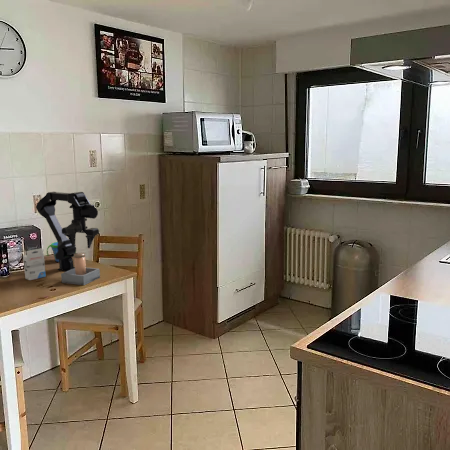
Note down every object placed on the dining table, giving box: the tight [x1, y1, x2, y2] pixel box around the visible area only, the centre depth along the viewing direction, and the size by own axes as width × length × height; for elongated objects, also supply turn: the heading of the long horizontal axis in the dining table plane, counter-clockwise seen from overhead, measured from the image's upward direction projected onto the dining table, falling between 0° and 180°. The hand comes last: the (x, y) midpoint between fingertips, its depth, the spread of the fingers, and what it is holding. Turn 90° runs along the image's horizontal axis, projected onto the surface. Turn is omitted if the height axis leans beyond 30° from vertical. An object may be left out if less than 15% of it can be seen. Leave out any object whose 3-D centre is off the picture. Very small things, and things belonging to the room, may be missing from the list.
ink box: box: [22, 247, 46, 281], centre depth 223 cm, size 8×5×15 cm, turn 136°
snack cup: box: [46, 241, 59, 263], centre depth 255 cm, size 16×10×10 cm
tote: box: [60, 267, 101, 286], centre depth 219 cm, size 13×13×4 cm
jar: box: [73, 252, 87, 275], centre depth 218 cm, size 5×5×12 cm
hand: (81, 247), depth 230 cm, fingers open, 9 cm apart
